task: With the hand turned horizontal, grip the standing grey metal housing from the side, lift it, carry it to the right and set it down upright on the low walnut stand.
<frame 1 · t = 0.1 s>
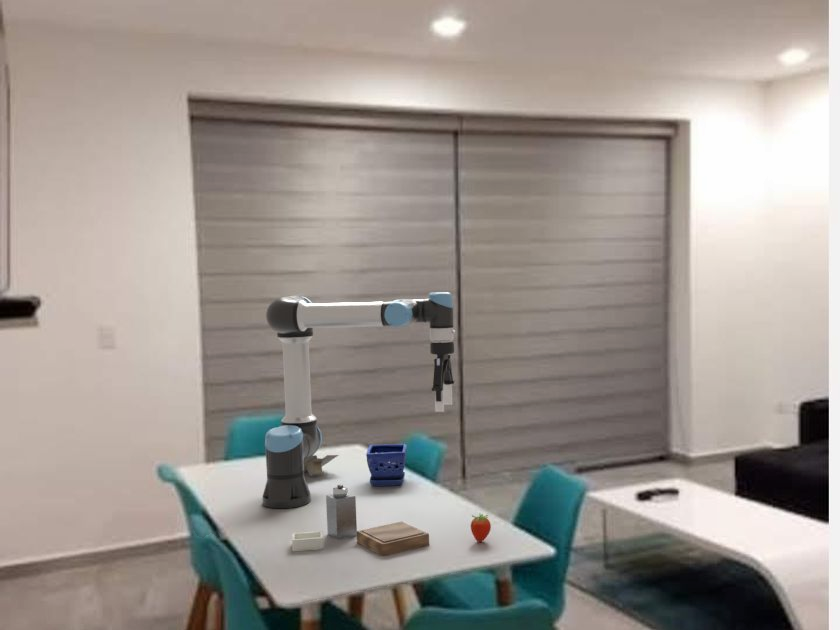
hand: (443, 408, 279), 28 cm above the table, tool pointing down, fingers open, 13 cm apart
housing: (342, 534, 244), on the table
stand: (392, 543, 234), on the table
wall: (309, 476, 314), on the table
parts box: (308, 546, 234), on the table
flower pot: (388, 483, 300), on the table
fruit: (480, 542, 233), on the table
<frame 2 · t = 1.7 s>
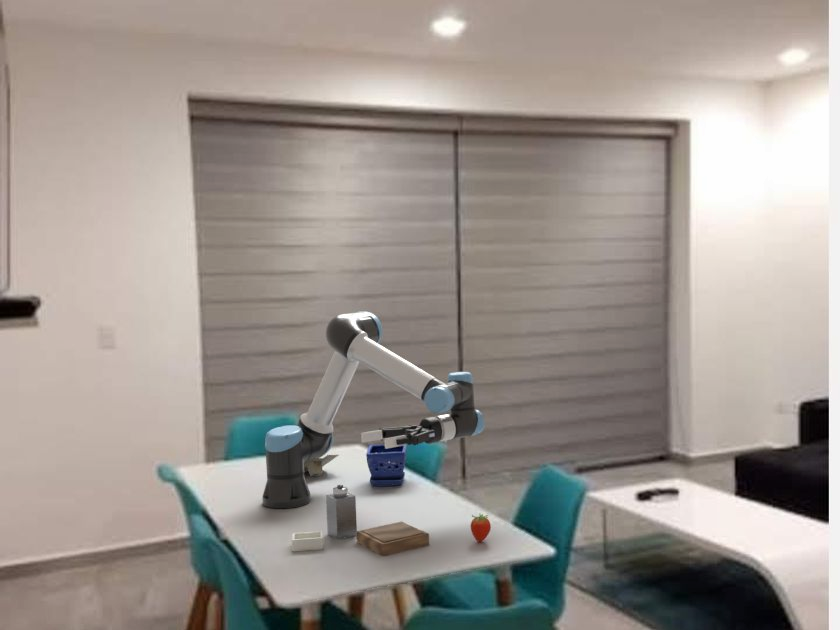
hand: (373, 440, 249), 25 cm above the table, tool horizontal, fingers open, 13 cm apart
nothing on the table moved.
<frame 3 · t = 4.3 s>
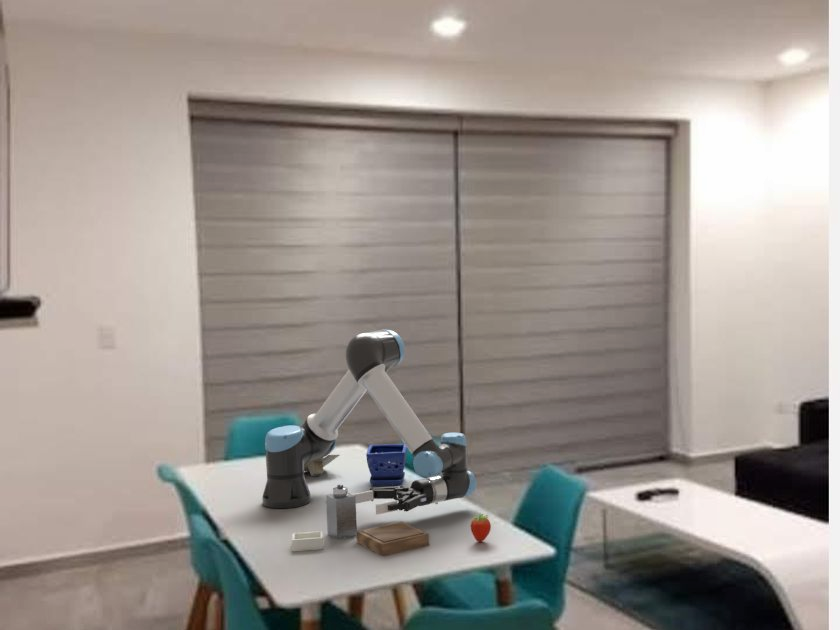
hand: (364, 504, 247), 7 cm above the table, tool horizontal, fingers open, 13 cm apart
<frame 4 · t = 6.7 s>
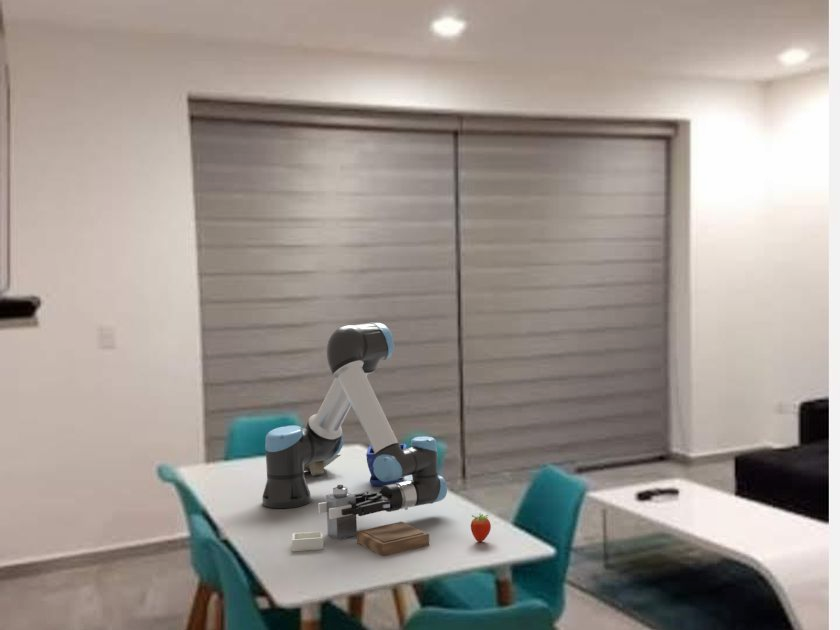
hand: (324, 511, 241), 8 cm above the table, tool horizontal, fingers closed on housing, 6 cm apart
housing: (342, 534, 244), on the table, touching gripper
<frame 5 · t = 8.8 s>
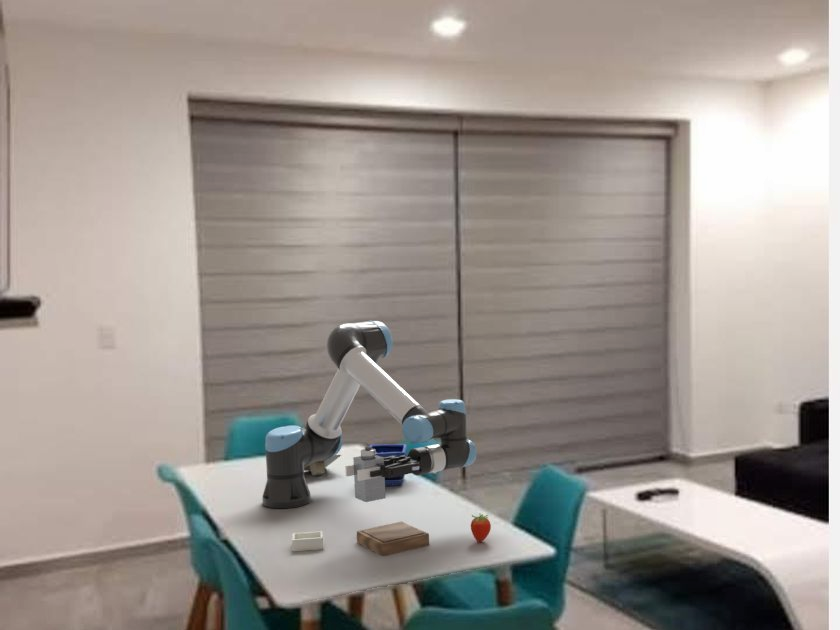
hand: (352, 473, 234), 19 cm above the table, tool horizontal, fingers closed on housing, 6 cm apart
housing: (370, 498, 237), point 12 cm above the table, touching gripper
when the fingers open (12 cm above the table, at t = 10.7 s): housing drops 1 cm, resting on stand.
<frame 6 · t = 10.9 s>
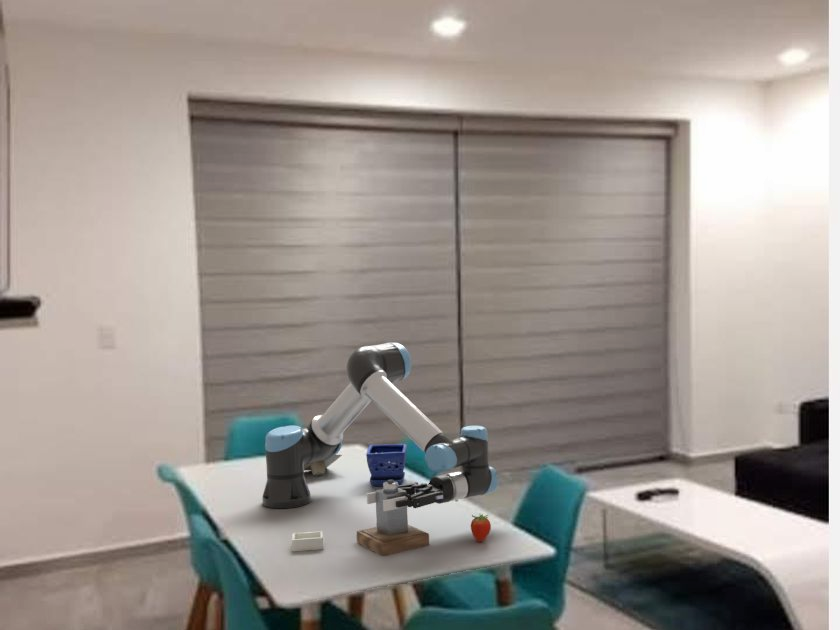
hand: (375, 502, 231), 12 cm above the table, tool horizontal, fingers open, 8 cm apart
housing: (392, 531, 234), point 3 cm above the table, touching stand
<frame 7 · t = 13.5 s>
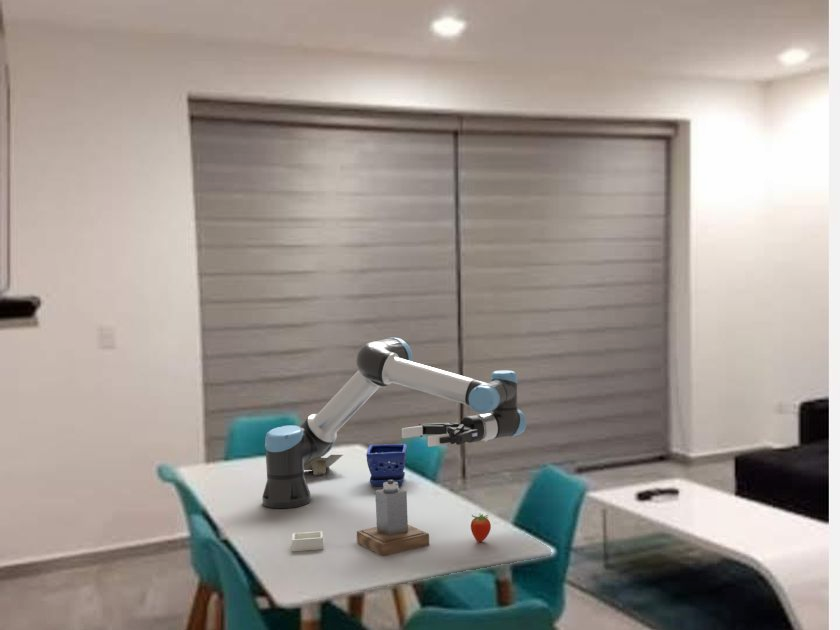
hand: (414, 437, 242), 26 cm above the table, tool horizontal, fingers open, 13 cm apart
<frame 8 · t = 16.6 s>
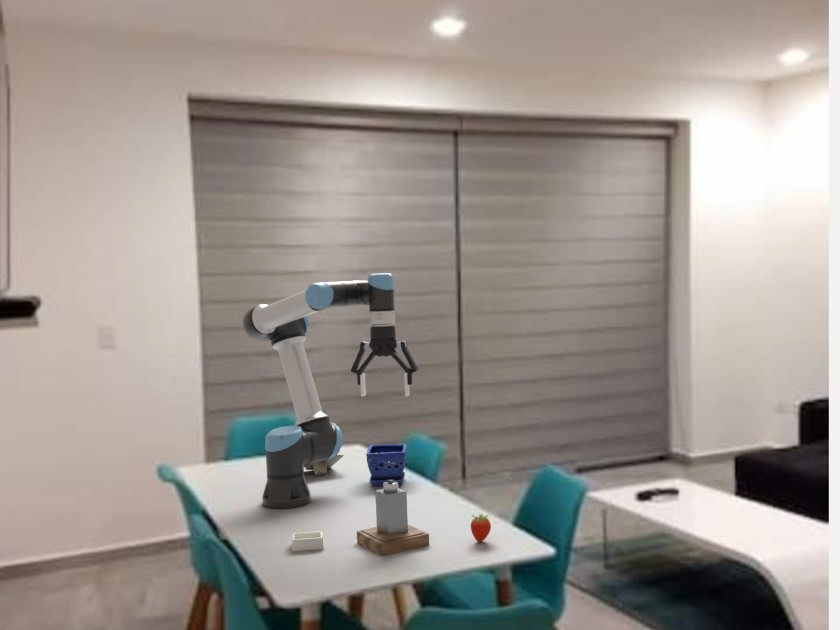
hand: (385, 395, 264), 35 cm above the table, tool pointing down, fingers open, 13 cm apart
at the end: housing inside the target area on the stand (0.0 cm from its centre), point 3.2 cm above the stand's base; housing tilted 0°; the gripper is holding nothing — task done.
